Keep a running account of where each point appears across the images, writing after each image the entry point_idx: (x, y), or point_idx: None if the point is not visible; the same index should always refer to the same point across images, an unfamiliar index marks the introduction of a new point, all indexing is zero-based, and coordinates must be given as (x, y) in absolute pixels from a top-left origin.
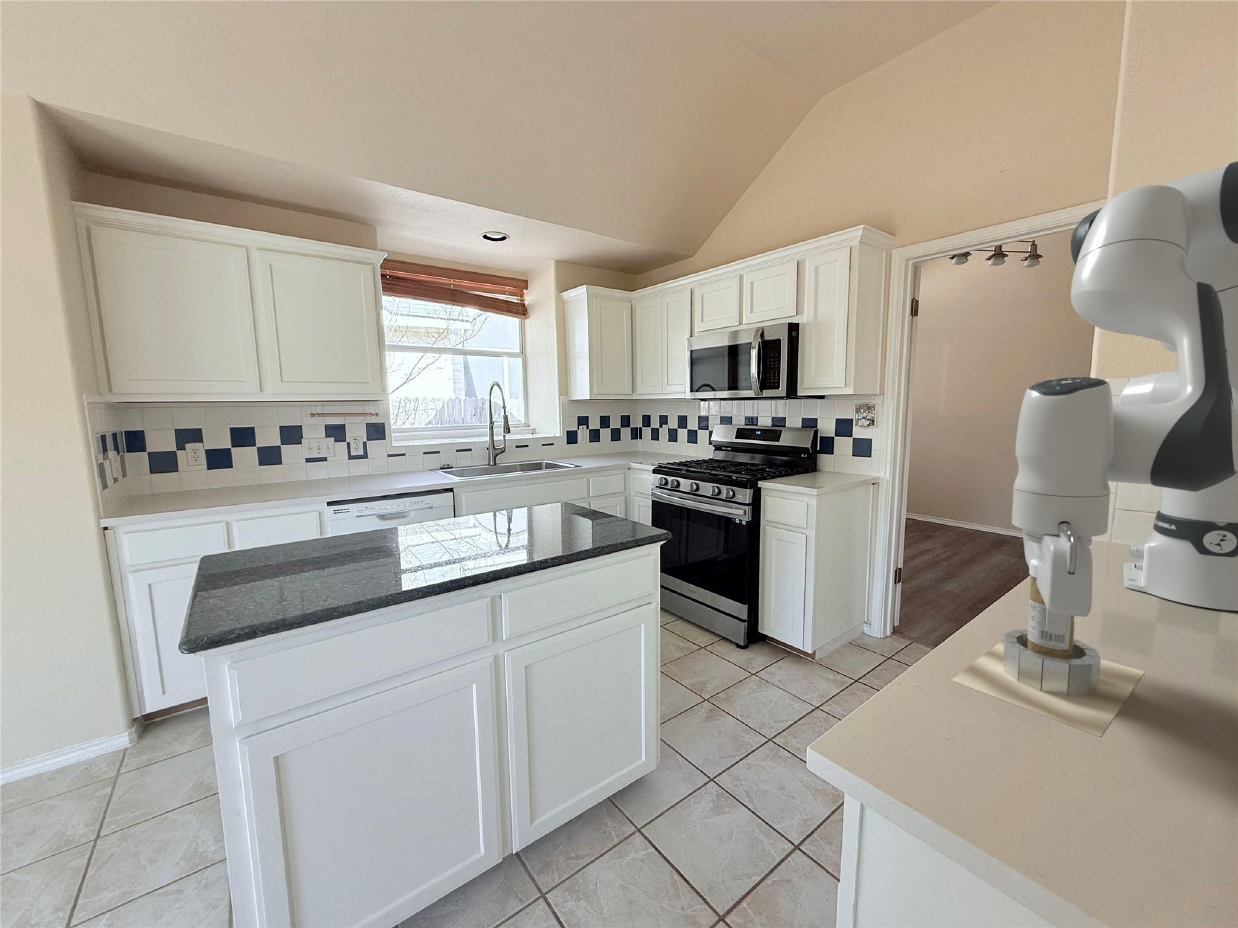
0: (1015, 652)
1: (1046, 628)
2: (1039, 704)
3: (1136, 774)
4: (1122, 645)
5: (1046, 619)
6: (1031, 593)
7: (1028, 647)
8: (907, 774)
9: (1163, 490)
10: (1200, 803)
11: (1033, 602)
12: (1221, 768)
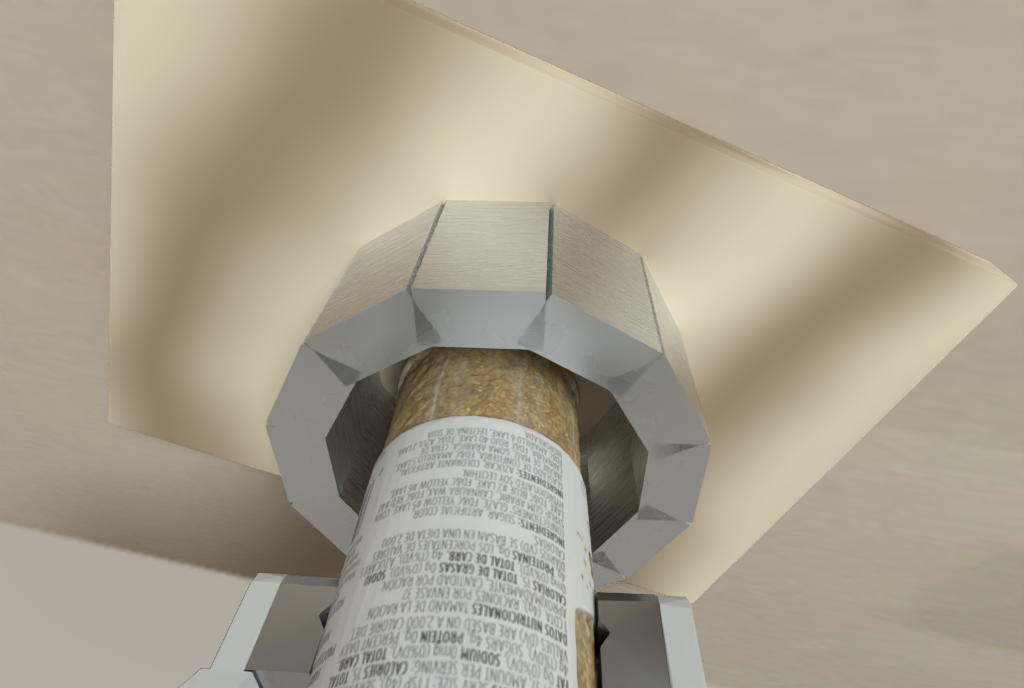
0: (335, 312)
1: (248, 587)
2: (190, 297)
3: (59, 438)
4: (986, 592)
5: (236, 650)
6: None
7: (461, 379)
8: None
9: None
10: (49, 508)
11: None
12: (251, 573)
